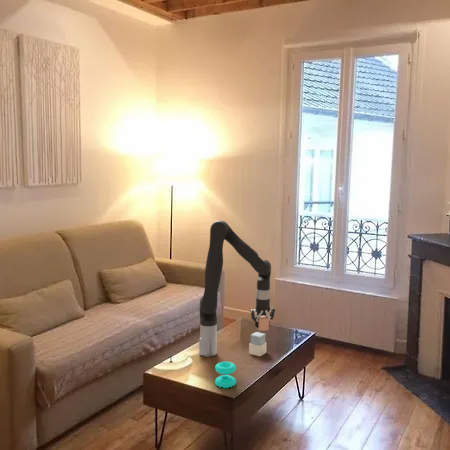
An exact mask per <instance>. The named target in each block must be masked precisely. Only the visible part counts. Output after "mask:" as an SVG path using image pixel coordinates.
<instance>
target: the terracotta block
mask: <svg viewBox="0 0 450 450" xmlns="http://www.w3.org/2000/svg"><path fill="white" fill-rule="evenodd" d="M269 329H270V326H269V318H267V317H266V316H261V317H260V318H259V321H258V328H256V330H258V332H261V331H269Z"/></svg>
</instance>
